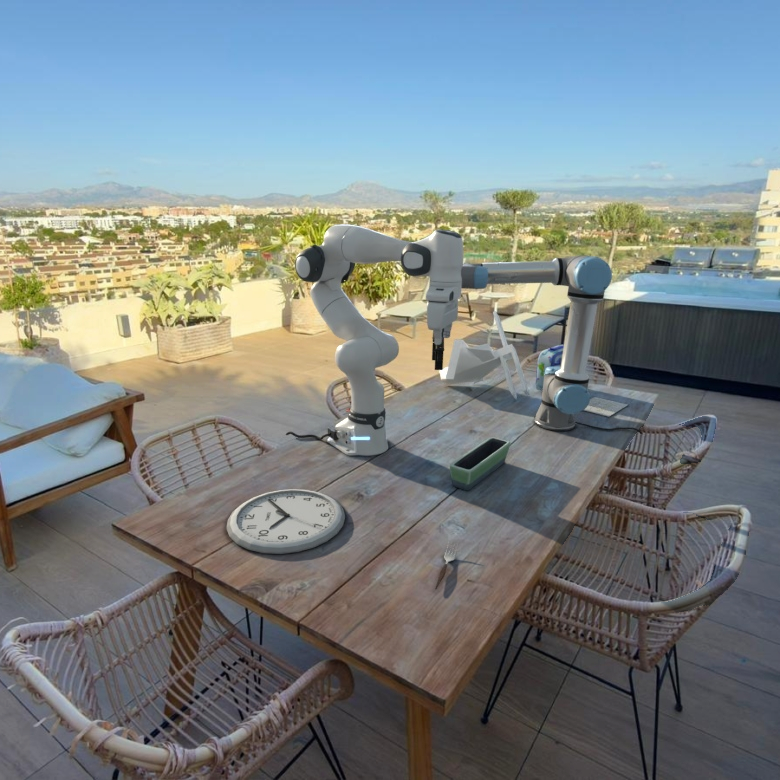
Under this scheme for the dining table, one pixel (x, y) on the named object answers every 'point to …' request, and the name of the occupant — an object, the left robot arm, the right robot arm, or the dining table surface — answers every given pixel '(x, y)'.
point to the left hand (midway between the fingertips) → (442, 340)
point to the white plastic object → (482, 362)
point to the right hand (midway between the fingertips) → (437, 364)
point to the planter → (478, 463)
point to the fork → (448, 558)
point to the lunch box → (548, 363)
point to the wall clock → (285, 521)
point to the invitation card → (604, 406)
